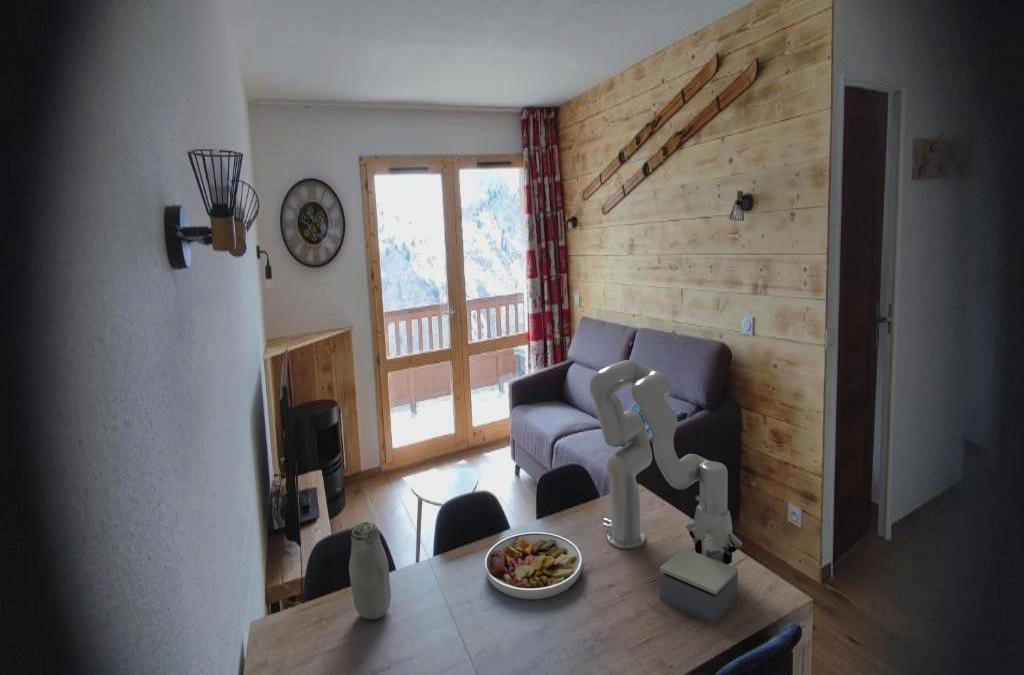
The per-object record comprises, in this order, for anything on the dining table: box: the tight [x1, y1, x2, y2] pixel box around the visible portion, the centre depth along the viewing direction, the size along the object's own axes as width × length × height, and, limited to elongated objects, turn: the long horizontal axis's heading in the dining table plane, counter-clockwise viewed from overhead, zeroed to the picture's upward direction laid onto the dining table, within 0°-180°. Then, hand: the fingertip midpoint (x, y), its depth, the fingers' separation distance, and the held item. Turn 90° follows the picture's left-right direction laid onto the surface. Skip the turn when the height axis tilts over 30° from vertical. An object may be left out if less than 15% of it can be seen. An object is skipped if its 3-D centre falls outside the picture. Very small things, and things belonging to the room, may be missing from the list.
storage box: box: [659, 571, 739, 626], centre depth 153 cm, size 16×14×8 cm
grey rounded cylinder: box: [348, 521, 392, 620], centre depth 153 cm, size 10×10×28 cm
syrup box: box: [701, 533, 726, 563], centre depth 163 cm, size 6×6×14 cm
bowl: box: [484, 531, 583, 600], centre depth 170 cm, size 30×30×8 cm
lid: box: [659, 547, 739, 595], centre depth 152 cm, size 16×14×1 cm
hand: (713, 558), depth 163 cm, fingers closed on syrup box, 8 cm apart
